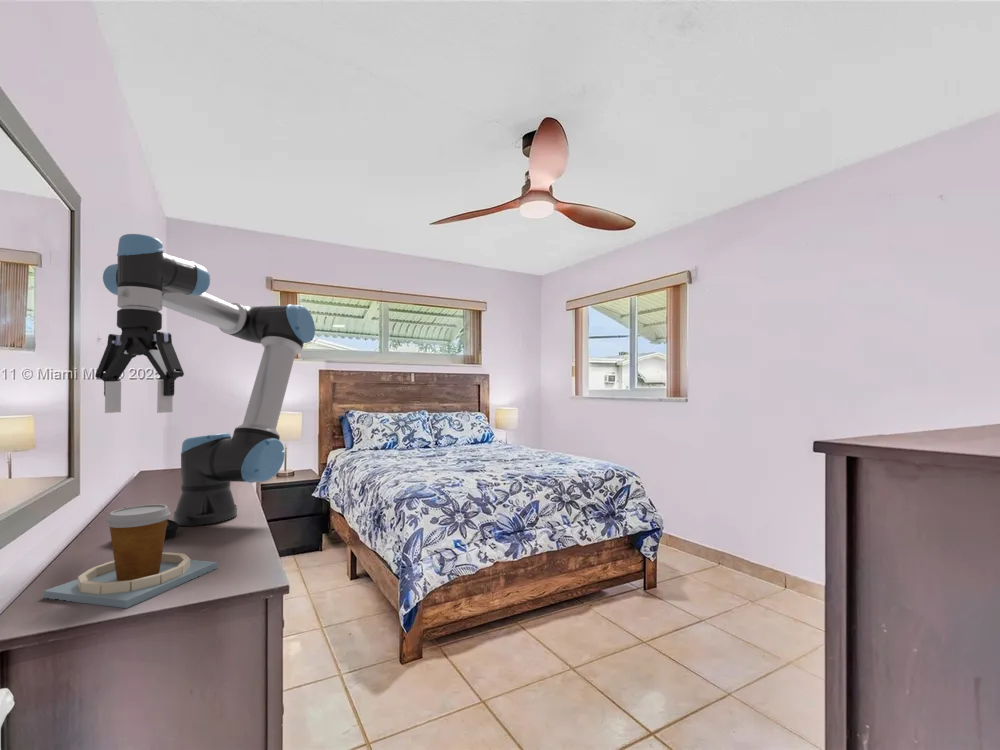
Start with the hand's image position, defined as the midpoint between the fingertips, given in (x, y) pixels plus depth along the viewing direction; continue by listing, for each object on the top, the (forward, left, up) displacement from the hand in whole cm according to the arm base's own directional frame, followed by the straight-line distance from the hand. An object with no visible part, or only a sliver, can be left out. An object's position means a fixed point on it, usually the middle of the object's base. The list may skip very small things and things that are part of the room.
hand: (138, 412), depth 100 cm
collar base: (+8, +10, -31) cm, 33 cm away
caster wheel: (-15, -14, -31) cm, 37 cm away
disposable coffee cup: (+8, +10, -30) cm, 32 cm away
